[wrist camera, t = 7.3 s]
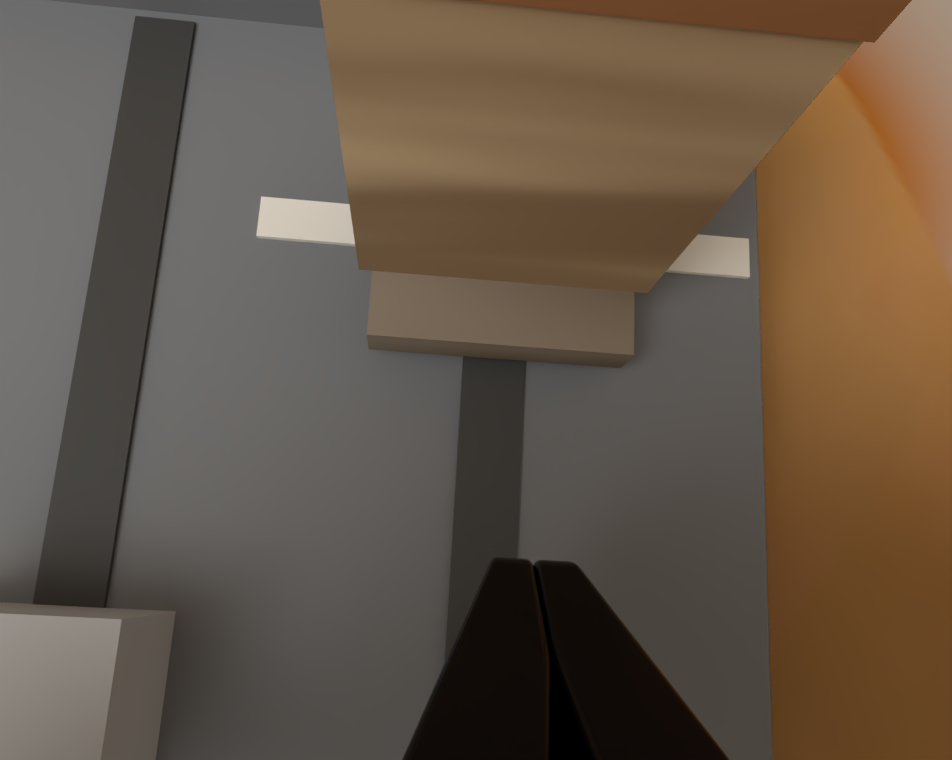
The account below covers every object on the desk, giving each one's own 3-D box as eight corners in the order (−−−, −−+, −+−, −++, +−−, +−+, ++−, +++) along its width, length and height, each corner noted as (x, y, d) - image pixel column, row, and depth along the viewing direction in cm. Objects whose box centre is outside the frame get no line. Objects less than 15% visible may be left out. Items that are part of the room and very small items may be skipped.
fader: (636, 369, 13) (966, 73, 5) (352, 348, 13) (276, 1, 5) (637, 91, 14) (912, -477, 7) (379, 65, 14) (348, -562, 6)
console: (727, 1109, 13) (886, 1370, 9) (-207, 1099, 12) (-541, 1385, 8) (712, 94, 17) (813, -63, 13) (20, 26, 16) (-115, -170, 12)
